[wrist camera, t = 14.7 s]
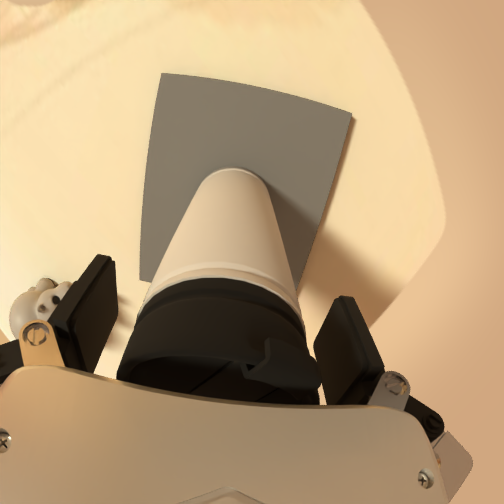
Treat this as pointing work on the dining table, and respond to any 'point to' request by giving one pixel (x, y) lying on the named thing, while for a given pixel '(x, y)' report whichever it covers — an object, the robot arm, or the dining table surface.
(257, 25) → the dining table surface
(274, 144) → the mat
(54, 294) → the chubby cartoon animal
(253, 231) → the travel mug
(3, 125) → the dining table surface
